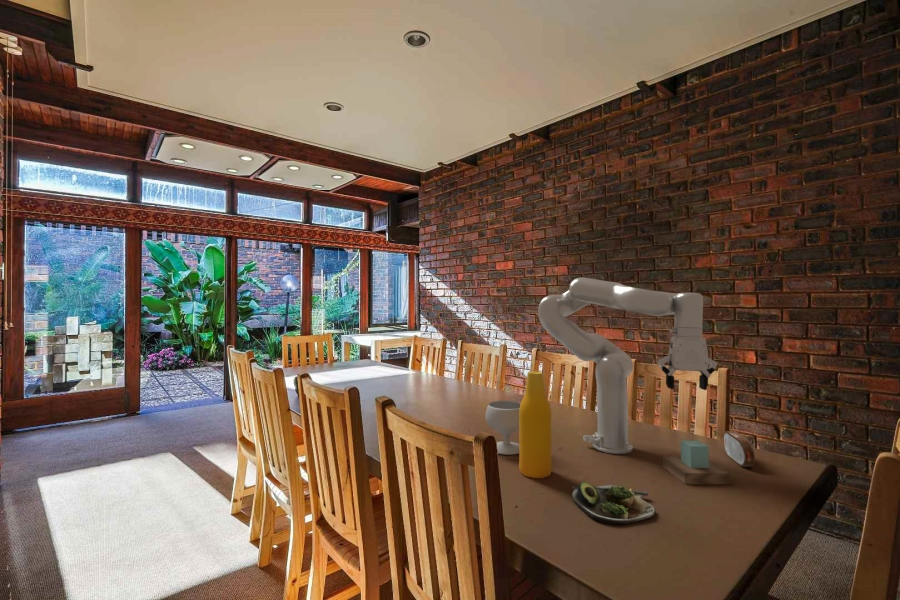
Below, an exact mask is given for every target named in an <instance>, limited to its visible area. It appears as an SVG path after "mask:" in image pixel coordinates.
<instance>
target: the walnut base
mask: <svg viewBox="0 0 900 600" xmlns="http://www.w3.org/2000/svg"><path fill="white" fill-rule="evenodd" d="M662 467H663V468H664V469H665V470H666V469H667V470H666V471H668V472H669V473H670V474H671V475H673V476H674V477H675V478H676V479H678V480H679V481H680V482H682V483H683V484H684V485H730V484H731V483H730V478H731V477H730V476H731V475H730V472H728V471H727V470H726V469H724V468H722V467H720V466H719V465H717V464H715V463H714V462H713V461H711V460H709V468H690V467H689V466H687V465H686V464H684V463H683V462H682V461H681V456H662Z"/></svg>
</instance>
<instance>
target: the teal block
mask: <svg viewBox="0 0 900 600" xmlns="http://www.w3.org/2000/svg"><path fill="white" fill-rule="evenodd" d="M709 450H710V448H709V446H708V445H707V444H705V443H703V442H702V441H700V440H698V439H697V440H695V439H694V440H688V439H687V440H683V439H682V440H680V457H681V461H682V462H683V463H684V464H686V465H687V466H689V467H690V468H709V461H710V460H709V459H710V458H709V457H710V455H709V453H710V452H709Z"/></svg>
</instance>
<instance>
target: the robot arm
mask: <svg viewBox="0 0 900 600" xmlns="http://www.w3.org/2000/svg"><path fill="white" fill-rule="evenodd" d="M589 304H592V305H599V306H602V307H607V308H613V309H616V310H617V309H618V310H624V311H629V312H633V313H638V314H644V315H648V316H652V317H653V316H655V317H663V316H669V315H670V316H671V315H674V321H673V322H674V324H673V328H670V329H669V333H670V334H673V336H671V339H670V342H669V349H668V355H666V356H665V357H662V358H659V359H658V360H657V362H656V363H657V364H658V365H659V368H660V370H661V371H662V372H663V373H664V374H665V384H666V387H667V388H669V389H670V390H674V389H675V376H674V375H675V373H676V371H679V372H680V371H681V372H682V371H683V372H698V373H700V375H699V377H698V378H699V379H698V380H699V382H698V383H699V385H698V387H699V389H701V390H703V391H707V390H708V387H709V377H711V375H712V374H713V373H714V372H715V369H716V368H717V366H718V364H719V362H717V361H716V360H713V359H711V358H710V357H709V353H708V352H709V351H708V346H707V341H706V338H705V337H703V315H704V314H703V313H704V296H703V295H702V294H701V293H699V292H698V293H697V292H678V293H673V292H666V291H657V290H650V289H643V288H638V287H632V286H629V285H628V286H627V285H625V284H622V283H621V282H620V283H619V282H615V281H606V280H601V279H595V278H590V277H589V278H588V277H577V278H574V279H573V280H572V281H571V282H570V284H569V288H568V290H567V291H566V292H563V293H562V294H549V295H547V296H544V297H543V298H542V299H541V300H540V302H539V304H538V309H537V311H538V313H537V315H538V320H539V322H540V324H541V326H542V328H543V329H544V330H545V331H546V332H547V333H548V335H550V336H552V337H553V338H554V339H555V340H557V341H558V342H559V343H560V344H561V345H562V346H563V347H565V348H566V349H567V350H568V351H569V352H571V353H572V354H573V355H574V356H576V357H577V359H579V360H581V361H582V362H591V361H593V362H594V363H595V364H596V365H595V379H596V380H595V381H596V391H597V394H596V396H597V397H596V399H597V401H596V402H597V431H595V432H594V434H592V435H589V434H587V435H585V434H584V435H583V436H582V439H583V442H589V443H590V444H592V447H593V448H594V449H596V450H597V451H600V452H602V453H608V454H611V455H612V454H613V455H626V454H631V453H632V452H633V450H634V446H633V445H632V444H631V443H630V442H629V440H628V437H629V435H628V433H629V428H628V426H629V425H628V419H629V417H628V416H629V415H628V413H629V411H628V409H629V408H628V388H627V387H628V385H627V377H629V376H630V375H631V374H632V372H633V369H634V363H633V360H632V358H631V357H630V356H629V355H628V354H627V353H626V352H625V351H623V350H622V349H621V348H620V347H619V346H617V345H616V344H614V343H613V342H611V341H610V340H609V339H608V338H606V337H605V336H603V335H601V334H599V333H597V332H589V333H587V332H586V331H585V330H583V329H582V328H580V327H579V326H578V325H577V324H575V322H573V321H571V320H569V319H568V318H567V317H568V316H572V314H575V313H576V312H578V311H579V310H580V309H582V308H584V307H587V306H588V305H589ZM666 363H668V367H666Z"/></svg>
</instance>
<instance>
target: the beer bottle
mask: <svg viewBox="0 0 900 600" xmlns="http://www.w3.org/2000/svg"><path fill="white" fill-rule="evenodd" d="M544 387H545V385H544V377H543V372H542V371H528V372H527V376H526V385H525V393H524V395H523V397H522V400H521V402H520V403H521V404H520V409H519V430H518V432H519V435H518V437H519V438H518V439H519V443H518V444H519V457H518V458H519V459H518V460H519V462H518V466H519V467H518V468H519V471H520V473H521V475H523V476H524V477H527V478H530V477H531V478H532V479H544V477H545V478H547V476H548V477H550V475H551V473H552V410H551V405H550V403H549V400H548V398H547V396H546V394H545V388H544Z"/></svg>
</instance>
